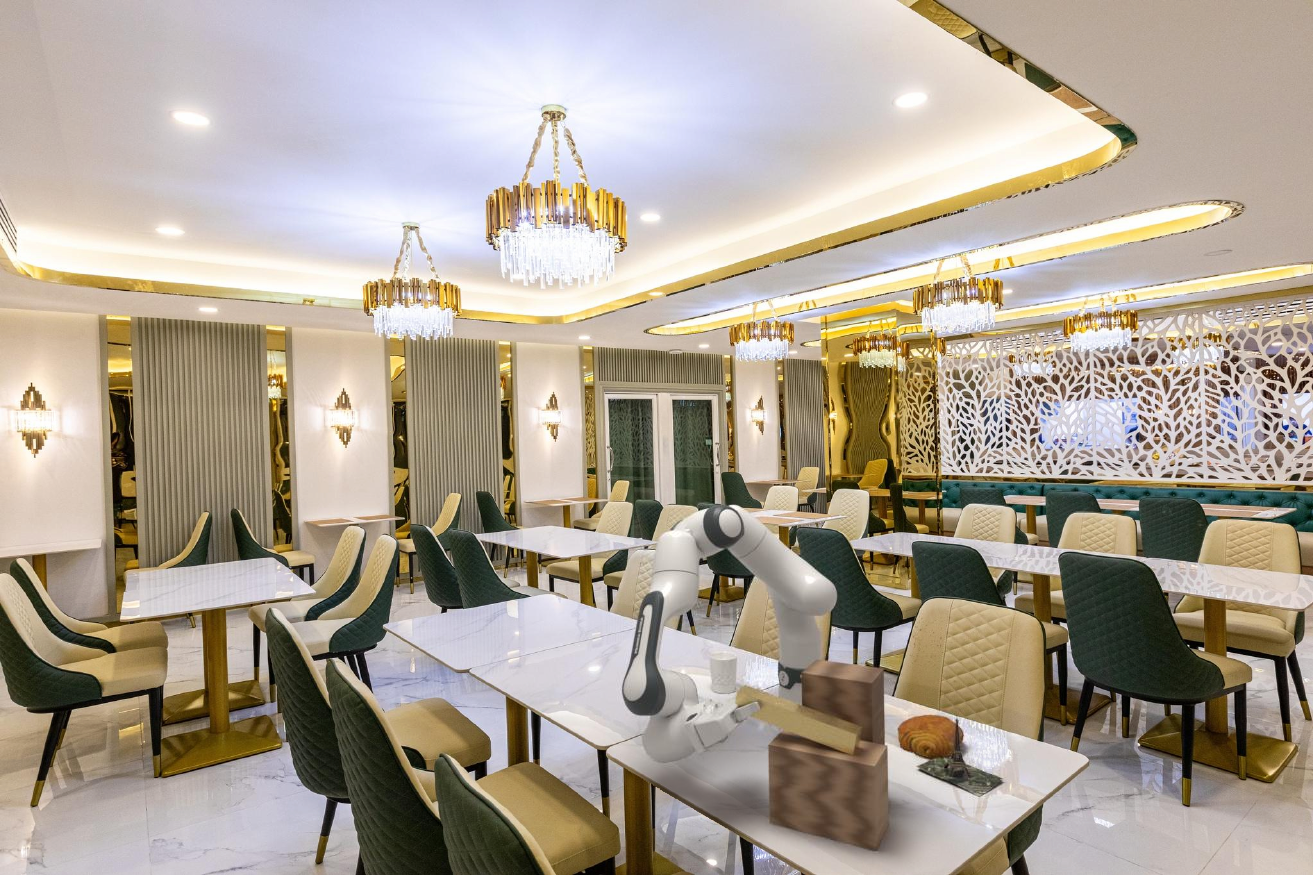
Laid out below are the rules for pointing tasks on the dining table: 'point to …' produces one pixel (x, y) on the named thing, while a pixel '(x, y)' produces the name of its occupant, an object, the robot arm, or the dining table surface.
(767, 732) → the dining table surface
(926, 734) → the croissant
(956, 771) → the eiffel tower figurine
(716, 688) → the white cup
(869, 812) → the stand
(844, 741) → the rail
